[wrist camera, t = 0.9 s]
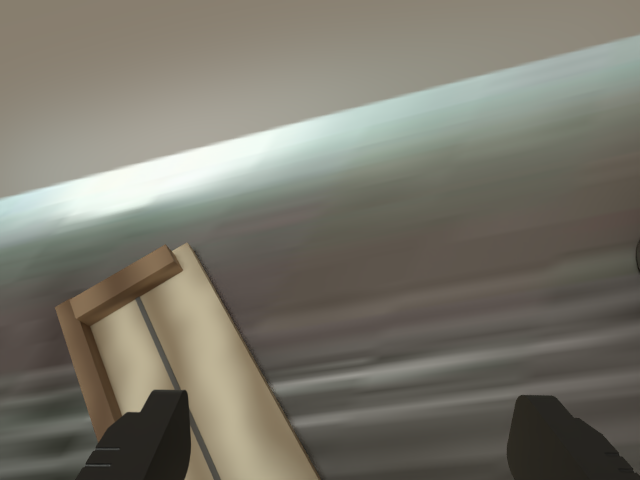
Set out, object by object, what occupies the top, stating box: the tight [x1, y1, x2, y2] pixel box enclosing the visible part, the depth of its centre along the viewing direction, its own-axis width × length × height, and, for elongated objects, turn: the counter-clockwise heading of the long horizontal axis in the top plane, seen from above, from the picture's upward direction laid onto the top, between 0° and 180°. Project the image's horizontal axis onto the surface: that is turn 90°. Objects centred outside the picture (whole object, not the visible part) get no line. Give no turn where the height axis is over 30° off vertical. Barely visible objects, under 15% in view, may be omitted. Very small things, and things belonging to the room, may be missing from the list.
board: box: [55, 243, 321, 480], centre depth 32 cm, size 12×30×4 cm, turn 33°
